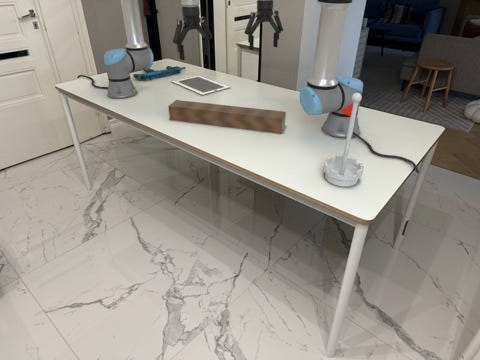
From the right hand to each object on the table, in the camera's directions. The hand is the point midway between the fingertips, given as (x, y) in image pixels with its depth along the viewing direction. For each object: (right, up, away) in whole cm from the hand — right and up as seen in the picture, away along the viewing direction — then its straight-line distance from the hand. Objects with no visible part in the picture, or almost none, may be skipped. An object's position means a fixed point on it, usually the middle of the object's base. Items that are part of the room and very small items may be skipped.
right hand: (263, 48), depth 166 cm
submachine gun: (-66, +6, +59) cm, 88 cm away
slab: (-18, -38, -9) cm, 43 cm away
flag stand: (+23, -64, -49) cm, 84 cm away
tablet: (-35, -7, +38) cm, 53 cm away
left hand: (-33, -8, -9) cm, 35 cm away
